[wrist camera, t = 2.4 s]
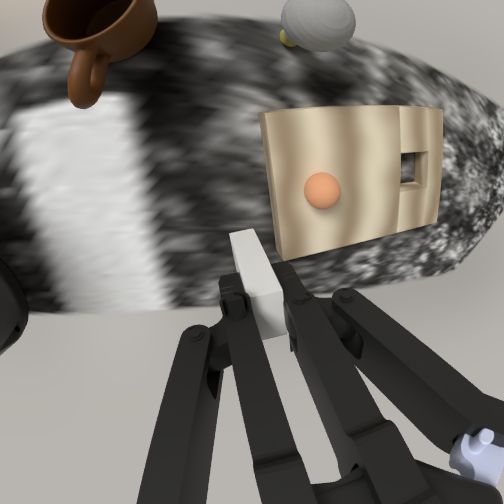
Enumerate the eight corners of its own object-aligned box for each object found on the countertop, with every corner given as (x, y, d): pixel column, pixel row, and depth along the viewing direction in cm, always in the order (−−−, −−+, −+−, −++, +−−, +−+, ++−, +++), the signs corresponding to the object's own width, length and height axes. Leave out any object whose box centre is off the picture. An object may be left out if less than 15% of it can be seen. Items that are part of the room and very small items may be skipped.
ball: (300, 205, 28) (313, 218, 25) (297, 171, 26) (311, 180, 23) (331, 199, 28) (347, 211, 25) (329, 166, 26) (346, 175, 23)
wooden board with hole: (276, 250, 32) (283, 261, 30) (258, 112, 25) (264, 113, 23) (425, 215, 35) (436, 222, 33) (428, 107, 27) (442, 109, 25)
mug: (148, 106, 23) (126, 105, 14) (73, 111, 21) (24, 117, 13) (165, -7, 17) (156, -52, 9) (90, 1, 15) (54, -34, 7)
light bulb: (301, 10, 20) (350, -24, 12) (321, 55, 23) (380, 39, 14) (250, 22, 20) (282, -16, 12) (273, 69, 23) (316, 53, 14)
